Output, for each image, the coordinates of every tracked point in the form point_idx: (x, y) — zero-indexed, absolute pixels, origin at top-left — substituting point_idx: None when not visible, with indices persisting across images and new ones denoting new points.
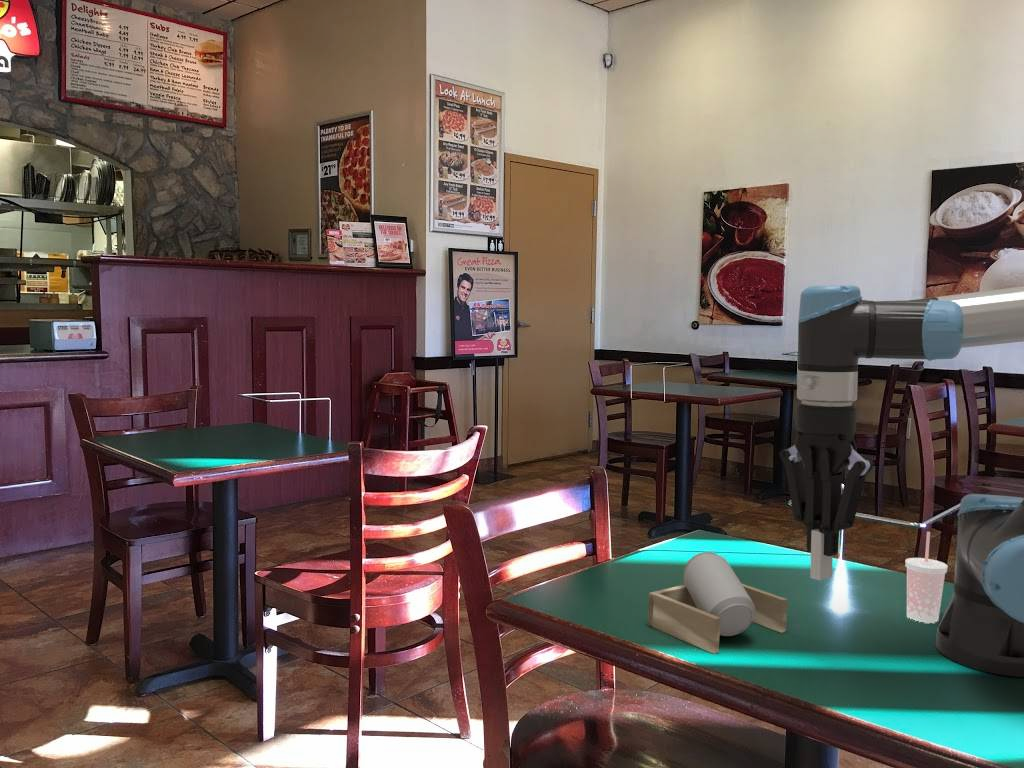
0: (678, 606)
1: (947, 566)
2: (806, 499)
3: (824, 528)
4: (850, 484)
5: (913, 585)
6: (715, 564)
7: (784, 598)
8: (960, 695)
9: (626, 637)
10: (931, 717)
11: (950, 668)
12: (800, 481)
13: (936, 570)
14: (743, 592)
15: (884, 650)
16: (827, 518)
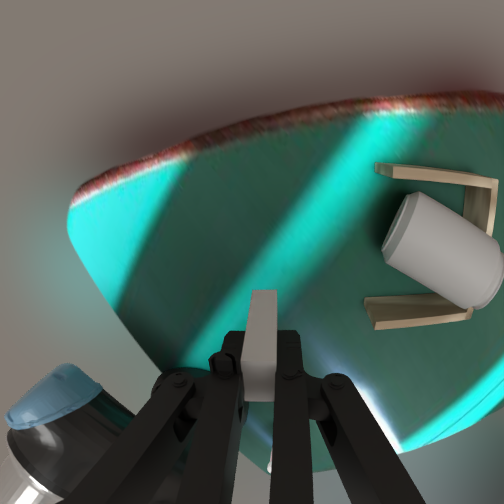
0: (455, 172)
1: (269, 472)
2: (307, 441)
3: (224, 368)
4: (88, 486)
5: None
6: (473, 269)
7: (378, 328)
8: (150, 308)
9: (459, 117)
10: (127, 239)
11: (197, 356)
12: (362, 497)
13: (270, 464)
14: (407, 255)
15: None
16: (214, 397)
